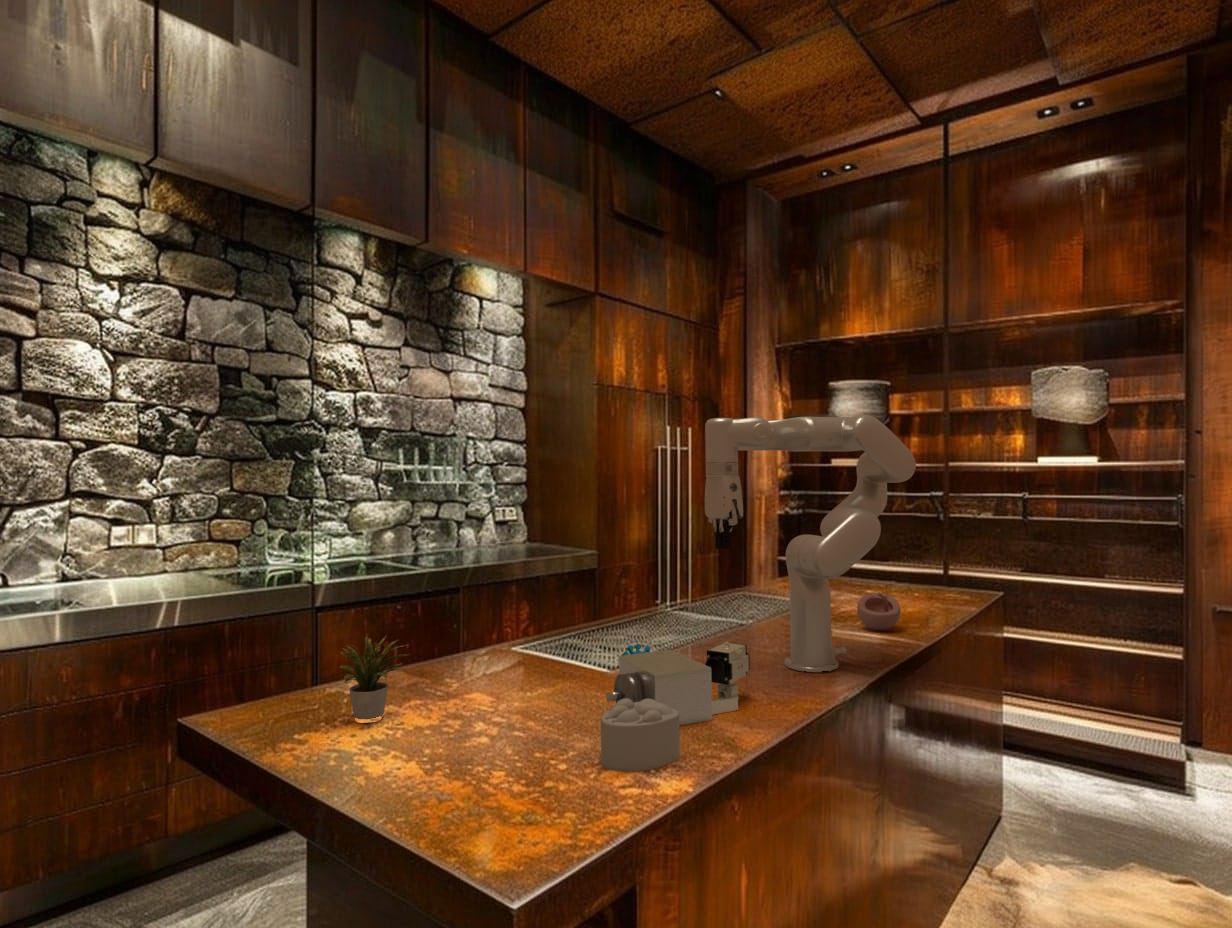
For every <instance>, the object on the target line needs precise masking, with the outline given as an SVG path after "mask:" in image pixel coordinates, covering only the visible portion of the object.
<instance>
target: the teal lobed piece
mask: <svg viewBox="0 0 1232 928" xmlns="http://www.w3.org/2000/svg"><path fill="white" fill-rule="evenodd" d="M626 647H627V648H626V650H625V651H624V652H623V654H621V656H623V655H631V654H639V653H647V652H651V650H652V648H651V647H650V646H649V645H646V646H645V647H644V649H643V651H640V650H641V648H642V644H640V643H639V642H638V643H636V644H635V646H633V645H628V646H626ZM634 647H635V651H634Z"/></svg>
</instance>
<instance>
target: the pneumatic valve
mask: <svg viewBox="0 0 1232 928" xmlns="http://www.w3.org/2000/svg"><path fill="white" fill-rule="evenodd" d="M747 647H748V646H747V644H743V643H738V642H737V643H735V642H730V641H725V642H723V643H721V644H719V645H717V646H715V647H712V648H711V649H708V650H706V662H705V663H704V665H706V666H709V667H711V677H712V683H715V684H717V685H716V689H717V693H716V696H717V698H716V699H720V698H726V697H732V696H736V697H738V700H739V699H740V697H739V691H740V690H739V683H737V681H738V680H739V679H742V678H744V677H745V676H746V675H748V671H750V669H751V666H750V665H751V661H750V660H751V659H750V656H751V655H750V654H749V652H748V648H747ZM735 682H736V683H735Z"/></svg>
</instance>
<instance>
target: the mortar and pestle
mask: <svg viewBox="0 0 1232 928" xmlns="http://www.w3.org/2000/svg"><path fill="white" fill-rule="evenodd" d="M857 615H858V618H859V619H860V621H861V622H862V624H863V625H865V626H866V627H867V628H868V629H871V630H874V631H878V632H883V631H888V630H890V629H892V628H893V627H895V625H896V624H897V623H898V622H899V619H900V618H901V605H900V603H899V601H898V600H897V599H896V598H895V597H893V596H891V595H889V594H885V593H881V592H870V593H866V594H864V595H862V596H860V598H859V599H858V602H857Z"/></svg>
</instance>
